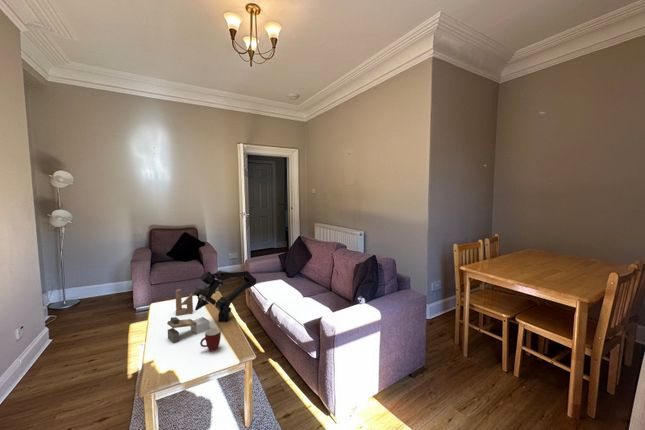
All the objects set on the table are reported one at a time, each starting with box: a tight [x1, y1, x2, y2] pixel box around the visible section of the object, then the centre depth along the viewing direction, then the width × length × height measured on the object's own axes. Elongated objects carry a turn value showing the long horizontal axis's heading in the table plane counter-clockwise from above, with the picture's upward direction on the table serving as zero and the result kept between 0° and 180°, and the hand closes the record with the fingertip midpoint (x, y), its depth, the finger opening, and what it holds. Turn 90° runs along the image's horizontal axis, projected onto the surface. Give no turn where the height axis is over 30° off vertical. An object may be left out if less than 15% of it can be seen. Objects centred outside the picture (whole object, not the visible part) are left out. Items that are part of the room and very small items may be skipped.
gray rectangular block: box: [167, 316, 210, 344], centre depth 165 cm, size 22×8×6 cm, turn 141°
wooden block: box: [175, 288, 194, 317], centre depth 192 cm, size 4×11×18 cm, turn 111°
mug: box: [199, 327, 222, 352], centre depth 148 cm, size 10×8×10 cm
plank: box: [166, 316, 197, 329], centre depth 162 cm, size 14×8×4 cm, turn 141°
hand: (195, 310), depth 168 cm, fingers closed
